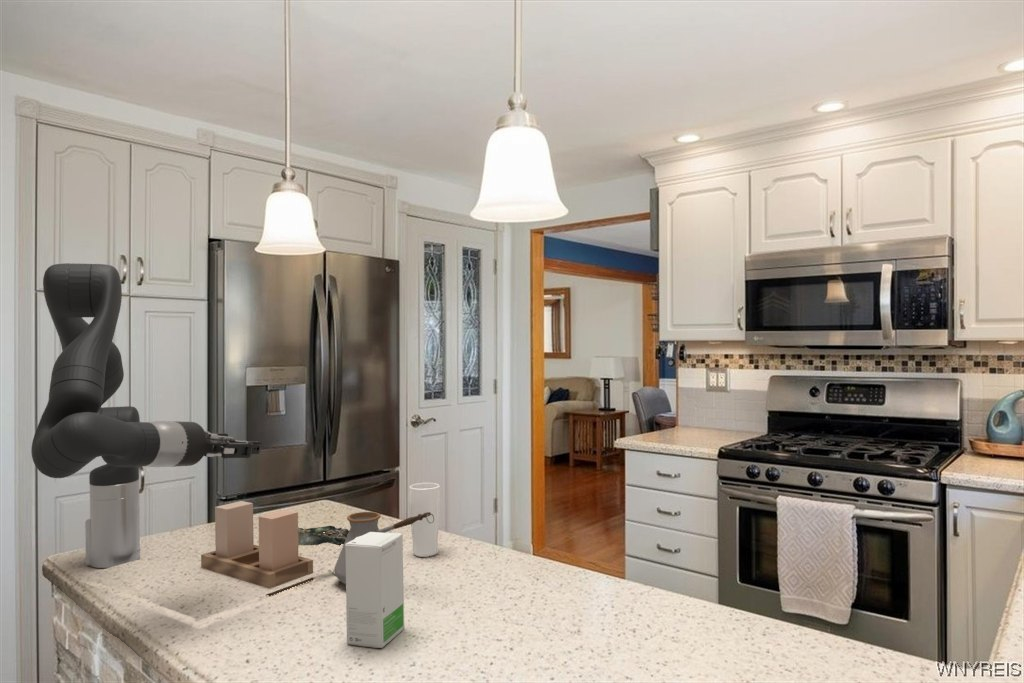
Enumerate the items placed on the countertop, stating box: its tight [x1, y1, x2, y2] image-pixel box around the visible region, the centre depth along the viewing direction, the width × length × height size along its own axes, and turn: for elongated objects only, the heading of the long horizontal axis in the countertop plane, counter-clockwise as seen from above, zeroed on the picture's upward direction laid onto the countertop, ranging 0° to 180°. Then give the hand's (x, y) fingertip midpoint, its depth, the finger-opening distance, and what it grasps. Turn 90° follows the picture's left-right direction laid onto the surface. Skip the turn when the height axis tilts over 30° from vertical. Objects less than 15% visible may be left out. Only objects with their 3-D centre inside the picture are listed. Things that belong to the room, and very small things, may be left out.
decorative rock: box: [298, 525, 349, 547], centre depth 158 cm, size 19×6×15 cm
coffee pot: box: [333, 511, 434, 586], centre depth 129 cm, size 21×12×15 cm, turn 65°
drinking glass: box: [408, 482, 441, 558], centre depth 148 cm, size 7×7×15 cm
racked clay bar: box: [214, 500, 255, 559], centre depth 138 cm, size 4×6×12 cm, turn 146°
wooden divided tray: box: [200, 544, 314, 597], centre depth 134 cm, size 22×10×4 cm, turn 56°
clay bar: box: [258, 509, 299, 571], centre depth 130 cm, size 4×6×12 cm, turn 146°
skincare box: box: [345, 532, 405, 649], centre depth 107 cm, size 8×7×16 cm
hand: (242, 443), depth 127 cm, fingers open, 8 cm apart
